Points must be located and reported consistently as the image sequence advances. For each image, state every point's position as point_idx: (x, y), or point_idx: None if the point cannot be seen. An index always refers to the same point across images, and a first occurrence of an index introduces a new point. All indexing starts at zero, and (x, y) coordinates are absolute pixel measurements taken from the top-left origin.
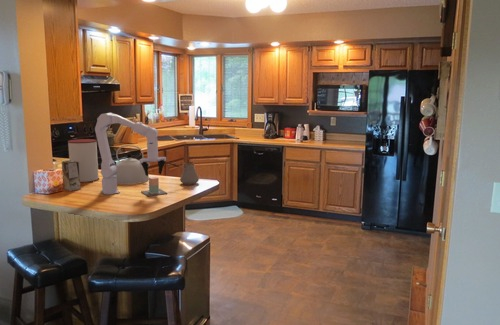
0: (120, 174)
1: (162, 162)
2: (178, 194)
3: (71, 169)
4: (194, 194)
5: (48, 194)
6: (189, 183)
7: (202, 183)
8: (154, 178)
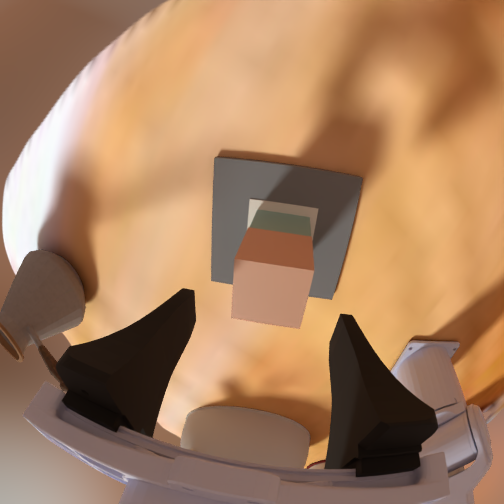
0: (297, 457)
1: (91, 371)
2: (164, 100)
3: (456, 471)
4: (98, 60)
5: (493, 403)
6: (59, 258)
7: (28, 247)
8: (279, 266)
